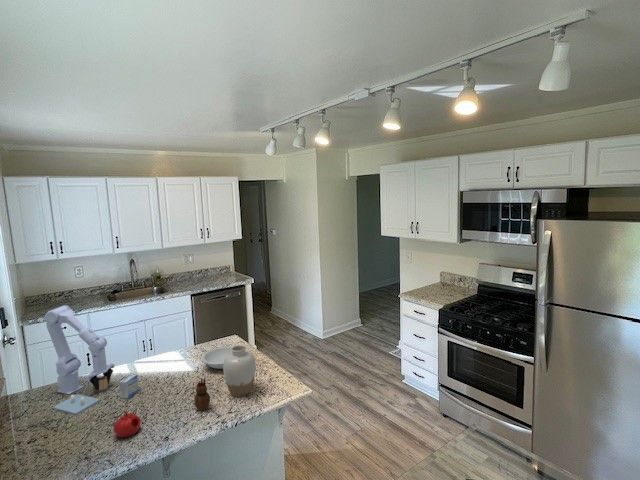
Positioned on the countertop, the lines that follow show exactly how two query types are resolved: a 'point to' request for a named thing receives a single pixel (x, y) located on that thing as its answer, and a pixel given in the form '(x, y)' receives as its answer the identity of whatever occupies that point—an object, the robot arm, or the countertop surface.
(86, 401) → the pin board
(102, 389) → the sleeve
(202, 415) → the countertop surface
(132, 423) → the pomegranate
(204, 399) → the wooden figurine
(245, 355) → the vase
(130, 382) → the medicine box
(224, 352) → the soup bowl
